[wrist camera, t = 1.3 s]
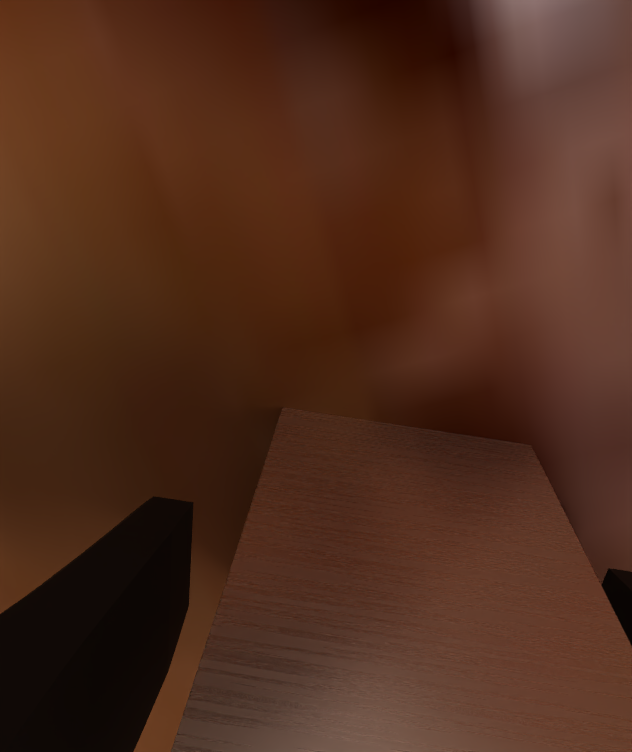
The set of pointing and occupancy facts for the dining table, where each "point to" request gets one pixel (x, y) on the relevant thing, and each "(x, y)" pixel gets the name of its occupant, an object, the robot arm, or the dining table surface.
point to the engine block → (408, 605)
